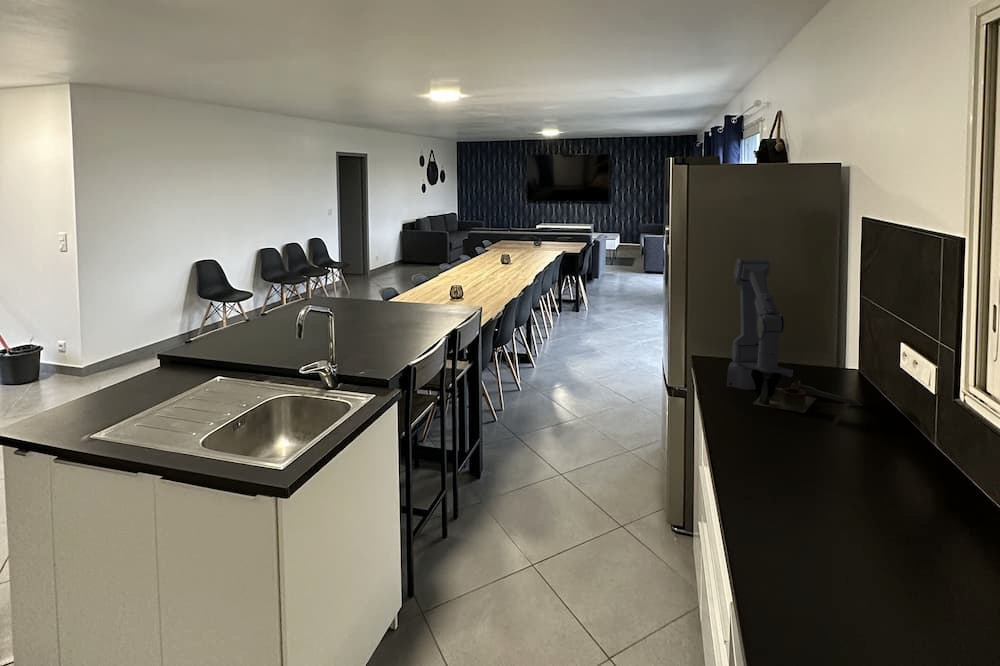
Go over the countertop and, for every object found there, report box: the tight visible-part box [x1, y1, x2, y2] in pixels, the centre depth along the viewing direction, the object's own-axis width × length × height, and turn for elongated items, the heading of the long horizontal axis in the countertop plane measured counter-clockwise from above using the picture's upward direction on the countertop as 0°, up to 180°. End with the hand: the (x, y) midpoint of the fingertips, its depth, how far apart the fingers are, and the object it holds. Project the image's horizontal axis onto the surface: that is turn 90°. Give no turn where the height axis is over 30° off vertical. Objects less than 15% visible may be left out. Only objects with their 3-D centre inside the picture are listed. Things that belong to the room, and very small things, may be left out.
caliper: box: [790, 379, 863, 407], centre depth 202 cm, size 20×1×6 cm, turn 66°
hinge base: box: [752, 383, 817, 413], centre depth 203 cm, size 15×17×5 cm
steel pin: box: [759, 376, 770, 404], centre depth 200 cm, size 3×3×8 cm
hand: (764, 395), depth 200 cm, fingers closed on steel pin, 3 cm apart
